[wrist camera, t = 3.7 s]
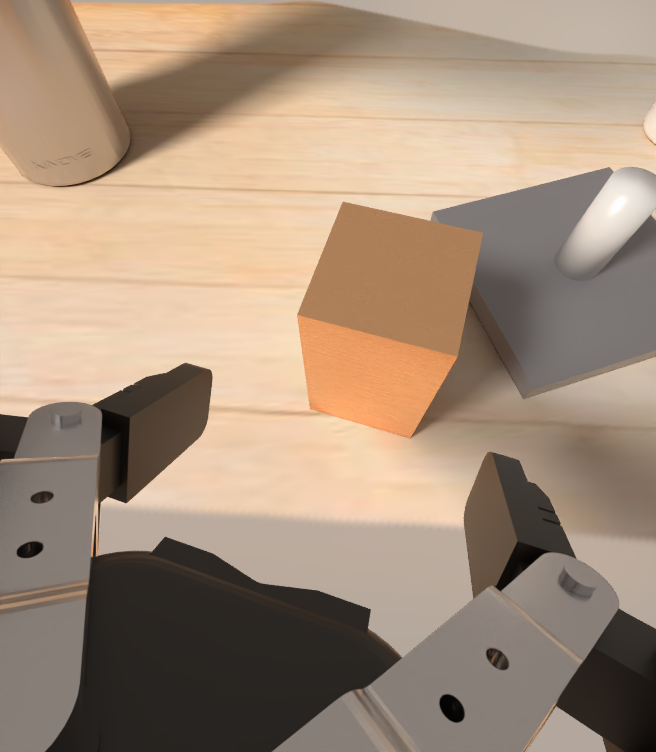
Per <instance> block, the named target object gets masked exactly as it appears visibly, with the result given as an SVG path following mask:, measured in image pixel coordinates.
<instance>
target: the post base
mask: <svg viewBox="0 0 656 752" xmlns="http://www.w3.org/2000/svg"><path fill="white" fill-rule="evenodd" d="M655 209H656V175H655V174H653V173H651V172H649V171H647V170H644V169H641V168H636V167H625V168H621V169H618V170H616V171H615V172H613V171H612V170H611V169H610V167H609V168H605V169H601V170H597V171H593V172H589V173H585V174H581V175H577V176H573V177H569V178H565V179H561V180H557V181H553V182H549V183H545V184H541V185H537V186H533V187H529V188H525V189H521V190H517V191H514V192H510V193H506V194H502V195H498V196H494V197H490V198H486V199H482V200H478V201H474V202H470V203H466V204H462V205H458V206H454V207H450V208H446V209H442V210H438V211H434V212H433V214H432V217H431V221H432V222H437V223H442V224H446V225H451V226H455V227H460V228H464V229H469V230H473V231H478V232H483V236H482V241H481V246H480V251H479V256H478V261H477V265H476V270H475V275H474V280H473V285H472V290H471V295H470V299H469V302H470V304H471V305H472V307H473V309H474V311H475V313H476V314H477V316H478V318H479V320H480V322H481V323H482V325H483V327H484V329H485V331H486V332H487V334H488V336H489V338H490V340H491V341H492V343H493V345H494V347H495V349H496V350H497V352H498V354H499V356H500V358H501V359H502V361H503V363H504V365H505V367H506V368H507V370H508V372H509V374H510V376H511V377H512V379H513V381H514V383H515V385H516V386H517V388H518V390H519V392H520V394H521V395H522V397H523V399H524V398H527V397H531V396H534V395H537V394H540V393H543V392H546V391H549V390H553V389H556V388H559V387H562V386H565V385H568V384H571V383H574V382H578V381H581V380H584V379H587V378H590V377H593V376H596V375H600V374H603V373H606V372H609V371H612V370H615V369H618V368H622V367H625V366H628V365H631V364H634V363H637V362H640V361H643V360H647V359H650V358H653V357H656V221H655V219H654V218H653V217H652V216H651V214H652V213H653V211H654V210H655Z"/></svg>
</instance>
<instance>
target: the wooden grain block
mask: <svg viewBox="0 0 656 752" xmlns="http://www.w3.org/2000/svg"><path fill="white" fill-rule="evenodd" d="M482 236H483V232H478V231H473V230H469V229H464V228H460V227H455V226H451V225H446V224H442V223H437V222H432V221H428V220H423V219H419V218H414V217H410V216H405V215H401V214H396V213H392V212H387V211H382V210H378V209H373V208H369V207H364V206H360V205H355V204H351V203H346V202H343V203H342V205H341V208H340V210H339V213H338V215H337V218H336V220H335V223H334V225H333V227H332V230H331V232H330V235H329V237H328V240H327V242H326V245H325V247H324V250H323V252H322V255H321V257H320V260H319V262H318V265H317V267H316V270H315V272H314V275H313V277H312V280H311V282H310V285H309V287H308V289H307V292H306V294H305V297H304V299H303V302H302V304H301V307H300V309H299V312H298V314H297V317H298V324H299V332H300V339H301V346H302V354H303V361H304V368H305V376H306V383H307V390H308V398H309V405H310V409H312V410H315V411H319V412H322V413H326V414H329V415H332V416H336V417H339V418H343V419H346V420H350V421H353V422H356V423H360V424H363V425H367V426H370V427H374V428H377V429H380V430H384V431H387V432H391V433H394V434H398V435H401V436H405V437H408V438H411V436H412V434H413V433H414V431H415V429H416V427H417V426H418V424H419V422H420V421H421V419H422V417H423V415H424V414H425V412H426V410H427V409H428V407H429V405H430V403H431V402H432V400H433V398H434V397H435V395H436V393H437V391H438V390H439V388H440V386H441V385H442V383H443V381H444V379H445V378H446V376H447V374H448V373H449V371H450V369H451V367H452V366H453V364H454V362H455V361H456V359H457V357H458V353H459V348H460V343H461V338H462V334H463V329H464V324H465V319H466V314H467V309H468V304H469V299H470V295H471V290H472V285H473V280H474V275H475V270H476V265H477V261H478V256H479V251H480V246H481V241H482Z"/></svg>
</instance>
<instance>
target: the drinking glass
mask: <svg viewBox="0 0 656 752" xmlns="http://www.w3.org/2000/svg"><path fill="white" fill-rule="evenodd" d="M643 128H644V132H645V134H646V136H647V137H648V138H649V139H650V140H651V141H652V142H653V143H654V144H656V101H655V102H654V104H653V105H652V107H651V108H650V110H649V111H648V113H647V114H646V116H645V119H644V122H643Z"/></svg>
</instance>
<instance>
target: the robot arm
mask: <svg viewBox="0 0 656 752" xmlns="http://www.w3.org/2000/svg"><path fill="white" fill-rule="evenodd" d="M130 138H131V137H130V132H129V128H128V126H127V124H126V122H125V120H124V117H123V115H122V113H121V111H120V109H119V107H118V104H117V102H116V100H115V98H114V96H113V93H112V91H111V89H110V87H109V85H108V83H107V80H106V78H105V76H104V73H103V71H102V69H101V67H100V65H99V63H98V60H97V58H96V56H95V54H94V52H93V50H92V47H91V45H90V43H89V41H88V39H87V36H86V34H85V32H84V30H83V28H82V26H81V23H80V21H79V19H78V17H77V15H76V13H75V10H74V8H73V6H72V4H71V2H70V0H0V147H1V149H2V150H3V151H4V152H5V154H6V155H7V156H8V157H9V159H10V160H11V161H12V163H13V164H14V165H15V166H16V168H17V169H18V170H19V171H20V173H21V174H22V175H23V176H25V177H26V178H28V179H29V180H31V181H34V182H36V183H39V184H44V185H50V186H65V185H72V184H78V183H81V182H85V181H88V180H91V179H93V178H95V177H98V176H100V175H102V174H103V173H105V172H107V171H108V170H110V169H111V168H112V167H114V166H115V165H116V164H117V163H118V162H119V161H120V160H121V159H122V157H123V156H124V155H125V154H126V152H127V149H128V147H129V145H130ZM211 387H212V372H211V370H209V369H205V368H202V367H199V366H195V365H192V364H188V363H184V364H182V365H180V366H178V367H176V368H174V369H173V370H171V371H169V372H167V373H163V374H158V375H153V376H149V377H146V378H144V379H142V380H140V381H138V382H136V383H134V385H130V386H128V387H126V388H124V389H123V391H121V390H120V391H119V392H117V393H115V394H113V395H111V396H109V397H107V398H105V399H103V400H101V401H99V402H97V403H95V404H93V405H89V404H85V403H79V402H61V403H54V404H49V405H46V406H43V407H40V408H38V409H36V410H35V411H33V412H32V413H31V414H30V415H29V417H19V416H10V415H1V414H0V752H526V751H527V750H528V748H529V747H530V745H531V744H532V742H533V741H534V739H535V738H536V736H537V735H538V733H539V732H540V730H541V729H542V727H543V726H544V724H545V723H546V721H547V720H548V718H549V717H550V715H551V714H552V712H553V711H554V709H555V707H556V706H557V707H558V708H560V709H561V710H563V711H564V712H566V713H568V714H569V715H570V716H572V717H573V718H575V719H576V720H578V721H579V722H581V723H583V724H584V725H586V726H587V727H588V728H590V729H591V730H593V731H594V732H596V733H597V734H599V735H600V736H602V737H603V741H604V745H605V748H606V752H656V629H655V628H653V627H651V626H649V625H647V624H646V623H643V622H642V621H640V620H638V619H636V618H634V617H633V616H630V615H629V614H627V613H625V612H624V611H622V610H620V609H619V600H618V597H617V595H616V592H615V591H614V589H613V588H612V586H611V585H610V584H609V583H608V582H607V581H606V580H605V579H604V578H603V577H602V576H601V575H600V574H599V573H598V572H596V571H595V570H594V569H592V568H591V567H590V566H588V565H586V564H585V563H583V562H581V561H579V560H577V559H576V557H575V554H574V552H573V550H572V548H571V546H570V543H569V541H568V539H567V537H566V535H565V532H564V530H563V528H562V526H560V521H559V519H558V517H557V515H556V514H555V510H554V508H553V506H552V504H551V502H550V499H549V498H548V497H547V496H546V495H545V493H544V492H543V491H542V490H541V489H540V488H539V487H538V486H537V485H536V484H534V483H531V482H528V481H527V479H526V476H525V474H524V471H523V469H522V466H521V464H520V461H519V460H517V459H513V458H510V457H507V456H503V455H500V454H496V453H493V452H488V453H487V455H486V456H485V458H484V460H483V463H482V465H481V468H480V470H479V473H478V475H477V477H476V480H475V482H474V485H473V487H472V490H471V492H470V495H469V497H468V500H467V503H466V507H465V512H464V527H465V535H466V543H467V551H468V559H469V566H470V575H471V583H472V591H473V600H472V601H470V602H469V603H468V604H467V605H466V606H464V607H463V608H462V609H461V610H460V611H459V612H457V613H456V614H455V615H454V616H453V617H451V618H450V619H449V620H448V621H446V622H445V623H444V624H443V625H442V626H441V627H439V628H438V629H437V630H435V631H434V632H433V633H432V634H431V635H429V636H428V637H427V638H426V639H425V640H423V641H422V642H421V643H420V644H419V645H417V646H416V647H415V648H414V649H413V650H411V651H410V652H409V653H408V654H407V655H405V656H404V657H403V658H402V657H401V656H400V655H399V654H398V653H397V652H396V651H395V650H394V649H393V648H392V647H391V646H390V645H389V644H388V643H386V642H385V641H384V640H383V639H381V638H380V637H379V636H378V635H376V634H375V633H374V632H372V631H371V630H369V629H368V623H369V617H370V611H371V610H370V609H368V608H365V607H362V606H360V605H357V604H354V603H351V602H348V601H345V600H342V599H340V598H337V597H334V596H331V595H328V594H326V593H323V592H320V591H316V590H308V589H300V588H292V587H284V586H275V585H268V584H261V583H259V582H256V581H254V580H252V579H251V578H250V577H248V576H247V575H245V574H243V573H242V572H240V571H239V570H237V569H236V568H234V567H233V566H231V565H230V564H228V563H227V562H225V561H223V560H222V559H220V558H219V557H217V556H216V555H214V554H212V553H209V552H207V551H204V550H201V549H198V548H195V547H193V546H190V545H187V544H184V543H181V542H178V541H175V540H173V539H170V538H167V537H165V538H164V539H163V540H162V541H161V542H160V543H159V544H158V546H157V547H156V548H155V549H154V550H153V551H152V552H150V551H125V552H124V551H123V552H115V553H109V554H104V555H100V556H99V537H100V536H99V535H100V518H101V502H102V501H103V500H104V499H105V498H106V497H110V498H113V499H115V500H118V501H121V502H124V503H127V502H129V501H130V500H131V499H132V498H133V497H134V496H135V495H136V494H137V493H138V492H140V491H141V490H142V489H143V488H144V487H145V486H146V485H147V484H148V483H150V482H151V481H152V480H153V479H154V478H155V477H156V476H157V475H158V474H160V473H161V472H162V471H163V470H164V469H165V468H166V467H167V466H168V465H169V464H171V463H172V462H173V461H174V460H175V459H176V458H177V457H178V456H179V455H181V454H182V453H183V452H184V451H185V450H186V449H187V448H188V447H189V446H191V445H192V444H193V443H194V442H195V441H196V440H197V439H198V438H199V437H200V436H201V435H202V433H203V431H204V429H205V427H206V424H207V420H208V413H209V404H210V396H211Z"/></svg>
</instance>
